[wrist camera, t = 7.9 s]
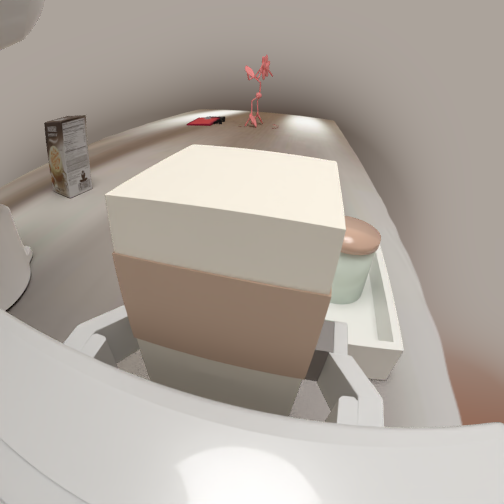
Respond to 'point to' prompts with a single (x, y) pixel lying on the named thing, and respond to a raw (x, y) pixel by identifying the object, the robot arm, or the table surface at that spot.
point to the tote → (372, 323)
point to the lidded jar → (354, 261)
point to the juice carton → (229, 269)
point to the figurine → (264, 71)
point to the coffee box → (68, 155)
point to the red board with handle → (207, 121)
